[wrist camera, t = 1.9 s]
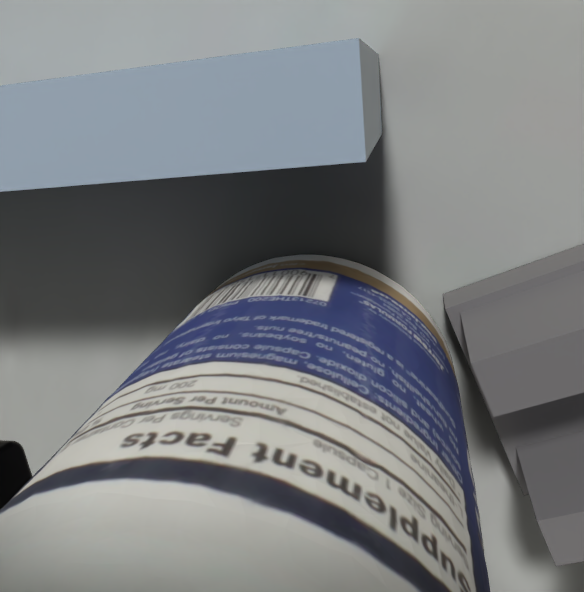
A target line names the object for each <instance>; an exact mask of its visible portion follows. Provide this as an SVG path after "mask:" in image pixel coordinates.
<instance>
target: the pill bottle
mask: <svg viewBox="0 0 584 592" xmlns="http://www.w3.org/2000/svg"><path fill="white" fill-rule="evenodd" d="M0 592H490V586H489V579H488V572H487V567H486V562H485V557H484V549H483V539H482V533H481V527H480V516H479V511H478V506H477V500H476V491H475V483H474V479H473V474H472V468H471V463H470V457H469V451H468V444H467V438H466V432H465V426H464V420H463V412H462V406H461V401H460V394H459V387H458V383H457V379H456V375H455V371H454V366H453V362H452V357H451V354H450V352H449V349H448V346H447V343H446V341H445V339H444V337H443V335H442V333H441V332H440V330H439V328H438V326H437V325H436V323H435V322H434V320H433V319H432V317H431V316H430V314H429V313H428V312H427V311H426V310H425V308H424V307H423V306H422V305H421V304H420V303H419V302H418V300H417V299H416V298H415V297H414V296H412V295H411V294H410V293H409V292H408V291H406V290H405V289H404V288H403V287H402V286H401V285H399V284H398V283H396V282H395V281H393V280H391V279H390V278H388V277H386V276H385V275H383V274H381V273H379V272H378V271H376V270H373V269H371V268H369V267H367V266H364V265H362V264H359V263H356V262H353V261H349V260H346V259H342V258H337V257H331V256H325V255H293V256H285V257H278V258H273V259H269V260H266V261H263V262H260V263H257V264H254V265H252V266H250V267H248V268H246V269H244V270H242V271H240V272H238V273H236V274H235V275H233V276H232V277H231V278H229V279H228V280H226V281H225V282H223V283H222V284H221V285H220V286H218V287H217V288H216V289H215V290H214V291H212V292H211V293H210V294H209V295H208V296H207V297H206V298H204V299H203V300H202V301H201V302H200V303H199V304H198V305H197V306H196V307H195V308H194V309H193V310H192V311H191V312H190V313H189V314H188V315H187V317H186V318H185V319H184V320H183V321H182V322H181V323H180V324H178V325H177V327H176V328H175V329H174V330H173V331H172V332H171V333H170V334H169V335H168V336H167V338H166V339H165V340H164V341H163V342H162V343H161V344H160V345H159V346H158V347H157V348H156V349H155V350H154V351H153V352H152V353H151V354H150V355H149V356H148V357H147V358H146V359H145V360H144V361H143V363H142V364H141V365H140V366H139V367H138V368H137V369H136V370H135V371H134V372H133V373H132V374H131V375H130V376H129V377H128V378H127V379H126V380H125V381H124V383H123V384H122V385H121V386H120V387H119V388H118V389H117V390H116V391H115V392H114V393H113V394H112V395H111V396H109V397H108V398H107V399H106V400H105V401H104V403H103V404H102V405H101V406H100V407H99V408H98V409H97V411H96V412H95V413H94V414H93V415H92V416H91V417H90V418H89V419H88V420H87V421H86V422H85V423H84V424H83V425H82V426H81V427H80V428H79V429H78V430H77V431H76V432H75V433H74V434H73V436H72V437H71V438H70V439H69V440H68V441H67V442H66V443H65V444H64V445H63V446H62V447H61V448H60V449H59V450H58V451H57V453H56V454H55V455H54V456H53V457H52V458H51V459H50V460H49V461H48V462H47V463H46V464H45V465H44V466H43V467H42V468H41V469H40V470H39V471H38V472H37V473H36V474H35V475H34V476H33V477H32V478H31V479H30V480H29V481H28V482H27V483H26V484H25V485H24V486H23V487H22V488H21V489H20V490H19V491H18V492H17V493H16V494H15V495H14V496H13V497H12V498H11V500H10V501H9V502H8V503H7V504H6V505H5V506H4V507H3V508H1V509H0Z"/></svg>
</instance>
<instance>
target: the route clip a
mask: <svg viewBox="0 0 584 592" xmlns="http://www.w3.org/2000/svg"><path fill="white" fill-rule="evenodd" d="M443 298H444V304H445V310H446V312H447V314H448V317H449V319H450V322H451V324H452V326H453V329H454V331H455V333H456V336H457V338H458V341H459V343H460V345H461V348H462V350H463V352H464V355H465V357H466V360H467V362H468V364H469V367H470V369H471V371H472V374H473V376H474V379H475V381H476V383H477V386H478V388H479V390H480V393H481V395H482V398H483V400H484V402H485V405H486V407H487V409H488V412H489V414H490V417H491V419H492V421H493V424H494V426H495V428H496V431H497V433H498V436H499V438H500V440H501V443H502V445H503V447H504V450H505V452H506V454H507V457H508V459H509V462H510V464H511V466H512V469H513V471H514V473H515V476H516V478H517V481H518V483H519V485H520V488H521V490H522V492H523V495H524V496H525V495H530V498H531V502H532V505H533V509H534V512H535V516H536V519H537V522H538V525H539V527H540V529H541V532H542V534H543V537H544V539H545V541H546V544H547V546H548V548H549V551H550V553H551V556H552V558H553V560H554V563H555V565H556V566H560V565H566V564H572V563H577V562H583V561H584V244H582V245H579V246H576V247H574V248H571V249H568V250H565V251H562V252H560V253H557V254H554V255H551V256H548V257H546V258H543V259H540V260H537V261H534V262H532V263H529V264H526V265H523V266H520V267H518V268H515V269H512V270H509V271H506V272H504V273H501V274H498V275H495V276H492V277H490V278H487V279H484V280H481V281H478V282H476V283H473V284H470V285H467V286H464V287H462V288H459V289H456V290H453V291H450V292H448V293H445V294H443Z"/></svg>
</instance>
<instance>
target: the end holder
mask: <svg viewBox="0 0 584 592" xmlns="http://www.w3.org/2000/svg"><path fill="white" fill-rule="evenodd" d="M381 135H382V119H381V97H380V76H379V55H378V54H377V53H376V52H375V51H374V50H373V49H371V48H370V47H369V46H368V45H367V44H365V43H364V42H363V41H362V40H361V39H359V38H356V39H348V40H341V41H333V42H326V43H318V44H311V45H303V46H295V47H288V48H280V49H273V50H265V51H258V52H250V53H243V54H235V55H228V56H220V57H213V58H205V59H197V60H190V61H182V62H175V63H167V64H160V65H152V66H145V67H137V68H130V69H122V70H115V71H107V72H100V73H92V74H84V75H77V76H69V77H62V78H54V79H47V80H39V81H32V82H24V83H17V84H9V85H2V86H0V192H4V191H16V190H28V189H41V188H53V187H65V186H77V185H89V184H102V183H114V182H126V181H138V180H150V179H163V178H175V177H187V176H199V175H211V174H224V173H236V172H248V171H260V170H272V169H285V168H297V167H309V166H321V165H333V164H346V163H358V162H366V161H367V159H368V157H369V156H370V154H371V152H372V150H373V149H374V147H375V145H376V143H377V142H378V140H379V138H380V136H381Z"/></svg>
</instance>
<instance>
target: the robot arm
mask: <svg viewBox="0 0 584 592" xmlns="http://www.w3.org/2000/svg"><path fill="white" fill-rule="evenodd" d="M31 478H32V474H31V471H30V468H29V465H28V462H27V458H26V455H25V452H24V449H23V447H22V446H21V445H20V444H19V443H18V442H16V441H1V440H0V509H1V508H3V507H4V506H5V505H6V504H7V503H8V502H9V501H10V500H11V498H12V497H13V496H14V495H15V494H16V493H17V492H18V491H19V490H20V489H21V488H22V487H23V486H24V485H25V484H26V483H27V482H28V481H29V480H30V479H31Z"/></svg>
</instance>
